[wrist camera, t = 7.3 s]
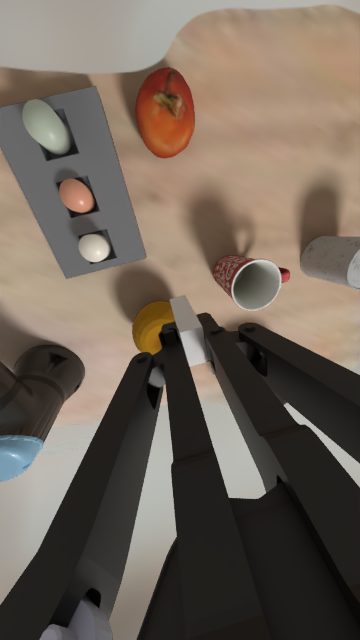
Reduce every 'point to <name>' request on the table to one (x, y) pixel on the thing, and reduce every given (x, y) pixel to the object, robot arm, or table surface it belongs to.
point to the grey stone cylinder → (333, 260)
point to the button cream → (94, 247)
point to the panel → (83, 165)
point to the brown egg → (77, 196)
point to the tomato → (165, 112)
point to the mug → (250, 280)
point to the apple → (151, 326)
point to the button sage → (46, 127)
